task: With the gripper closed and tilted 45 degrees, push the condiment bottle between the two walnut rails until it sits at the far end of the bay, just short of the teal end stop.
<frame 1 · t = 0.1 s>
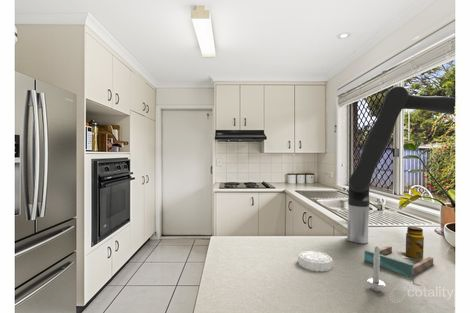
condiment: (411, 257, 108), on the countertop
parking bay: (402, 264, 100), on the countertop
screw: (375, 290, 79), on the countertop
mooncake: (314, 265, 97), on the countertop
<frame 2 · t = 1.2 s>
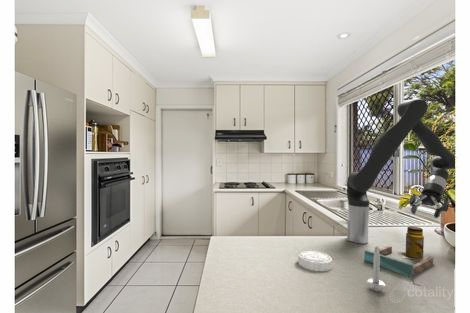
hand: (424, 215, 115), 16 cm above the countertop, tool tilted 45°, fingers open, 8 cm apart
nothing on the countertop moved.
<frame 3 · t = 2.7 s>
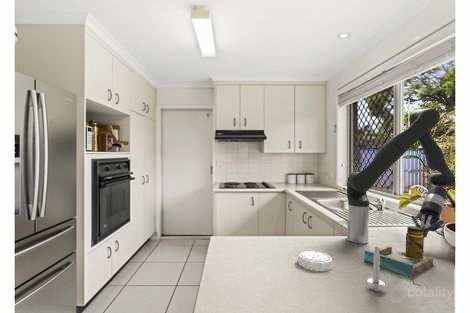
hand: (421, 236, 114), 7 cm above the countertop, tool tilted 45°, fingers closed
nothing on the countertop moved.
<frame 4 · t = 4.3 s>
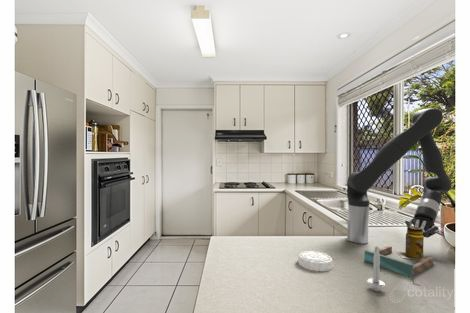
hand: (415, 242, 110), 5 cm above the countertop, tool tilted 45°, fingers closed
condiment: (411, 257, 108), on the countertop, touching gripper
everything else where it was.
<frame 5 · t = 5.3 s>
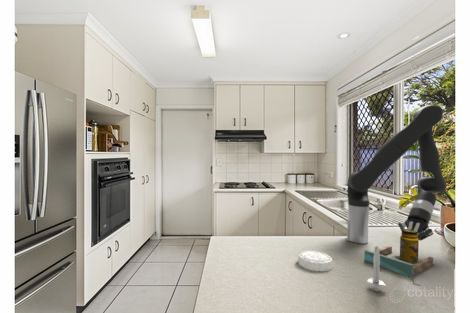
hand: (408, 246, 106), 5 cm above the countertop, tool tilted 45°, fingers closed
condiment: (405, 261, 103), on the countertop, touching gripper
everything else where it was.
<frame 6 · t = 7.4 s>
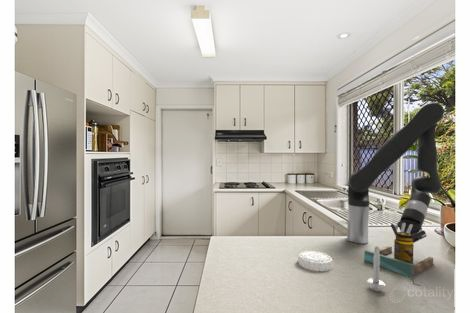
hand: (400, 248, 102), 5 cm above the countertop, tool tilted 45°, fingers closed
condiment: (400, 265, 99), on the countertop
everything else where it was.
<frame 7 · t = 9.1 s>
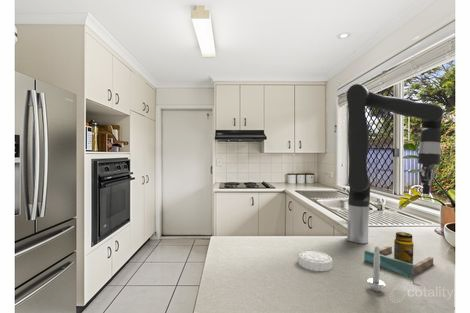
hand: (426, 193, 111), 26 cm above the countertop, tool pointing down, fingers closed
nothing on the countertop moved.
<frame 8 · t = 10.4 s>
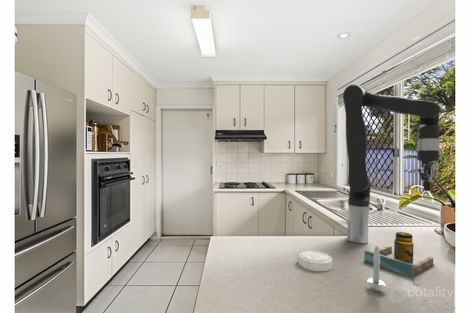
hand: (427, 190, 111), 27 cm above the countertop, tool pointing down, fingers closed
nothing on the countertop moved.
at the end: condiment inside the target area (2.0 cm from its centre), on the countertop; condiment tilted 0° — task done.
